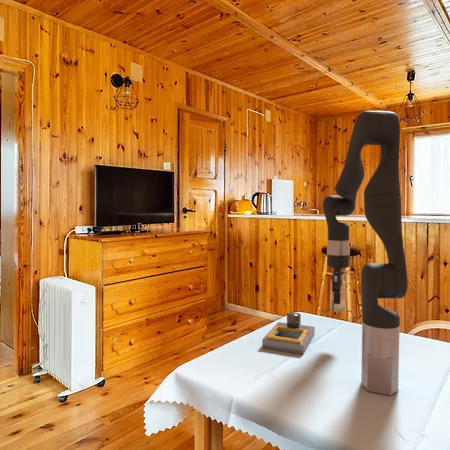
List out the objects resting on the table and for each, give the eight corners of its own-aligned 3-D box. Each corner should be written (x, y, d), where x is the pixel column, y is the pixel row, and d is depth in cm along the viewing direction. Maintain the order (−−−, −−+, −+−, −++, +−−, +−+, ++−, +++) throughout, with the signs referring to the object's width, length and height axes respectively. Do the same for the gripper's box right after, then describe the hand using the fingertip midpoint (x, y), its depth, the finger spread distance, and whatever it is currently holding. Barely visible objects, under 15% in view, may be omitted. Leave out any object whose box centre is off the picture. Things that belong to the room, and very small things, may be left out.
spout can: (344, 312, 124) (344, 277, 124) (329, 311, 126) (329, 276, 126) (346, 309, 129) (346, 275, 128) (331, 307, 131) (331, 274, 130)
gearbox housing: (303, 354, 119) (303, 330, 119) (262, 348, 125) (262, 325, 124) (314, 334, 137) (314, 313, 137) (278, 329, 143) (278, 309, 143)
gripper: (347, 256, 118) (347, 308, 119) (351, 251, 132) (351, 298, 132) (323, 255, 122) (323, 305, 122) (329, 250, 135) (329, 296, 135)
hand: (337, 301), depth 127 cm, fingers closed on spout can, 5 cm apart
